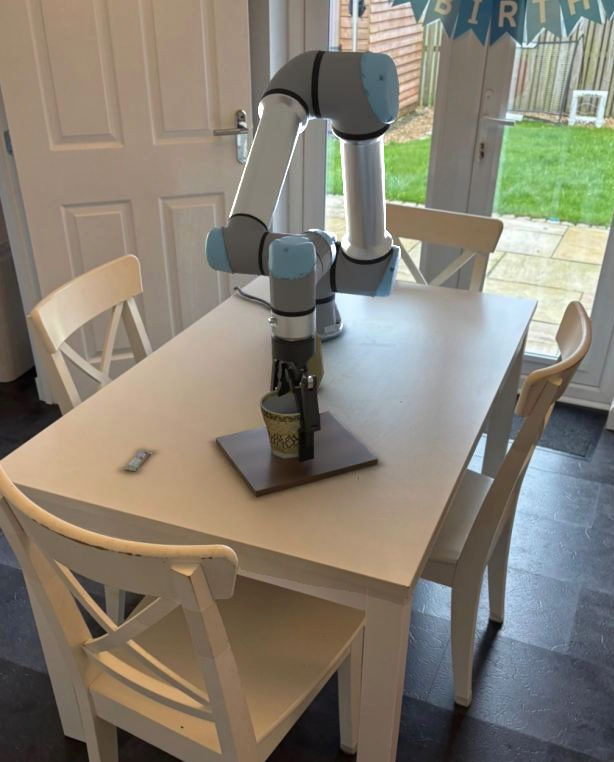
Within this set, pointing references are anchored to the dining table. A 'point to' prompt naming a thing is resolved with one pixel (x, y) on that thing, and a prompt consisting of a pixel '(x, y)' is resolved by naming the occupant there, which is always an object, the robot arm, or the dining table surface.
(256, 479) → the serving board
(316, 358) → the squeeze bottle
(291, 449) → the ceramic cup
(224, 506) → the dining table surface
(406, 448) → the dining table surface
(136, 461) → the granola bar
